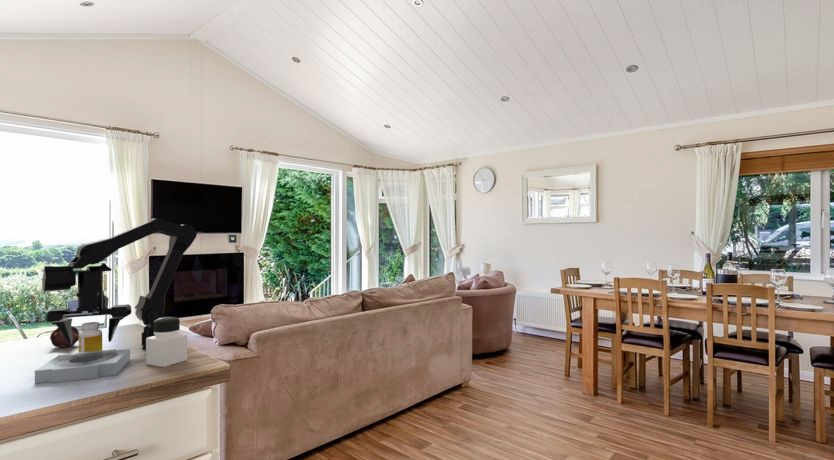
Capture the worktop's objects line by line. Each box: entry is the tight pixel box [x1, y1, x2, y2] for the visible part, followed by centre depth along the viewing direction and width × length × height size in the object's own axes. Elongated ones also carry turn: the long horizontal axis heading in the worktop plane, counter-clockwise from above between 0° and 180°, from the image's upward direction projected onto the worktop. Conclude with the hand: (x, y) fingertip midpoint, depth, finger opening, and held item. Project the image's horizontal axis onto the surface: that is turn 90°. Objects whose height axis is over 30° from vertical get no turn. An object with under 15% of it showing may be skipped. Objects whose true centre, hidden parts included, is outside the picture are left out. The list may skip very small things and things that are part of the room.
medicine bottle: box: [145, 316, 188, 368], centre depth 117 cm, size 7×7×12 cm
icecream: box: [49, 325, 80, 349], centre depth 134 cm, size 7×7×15 cm
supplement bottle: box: [78, 321, 103, 353], centre depth 122 cm, size 5×5×10 cm
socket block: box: [34, 348, 131, 384], centre depth 110 cm, size 16×16×3 cm
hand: (90, 343), depth 122 cm, fingers open, 9 cm apart
